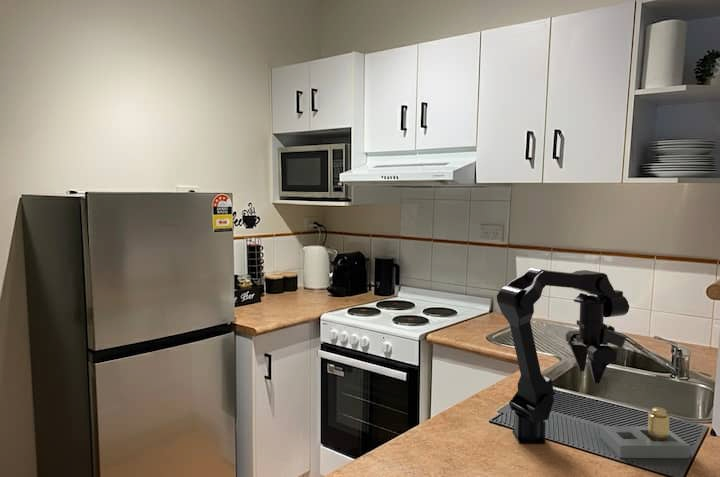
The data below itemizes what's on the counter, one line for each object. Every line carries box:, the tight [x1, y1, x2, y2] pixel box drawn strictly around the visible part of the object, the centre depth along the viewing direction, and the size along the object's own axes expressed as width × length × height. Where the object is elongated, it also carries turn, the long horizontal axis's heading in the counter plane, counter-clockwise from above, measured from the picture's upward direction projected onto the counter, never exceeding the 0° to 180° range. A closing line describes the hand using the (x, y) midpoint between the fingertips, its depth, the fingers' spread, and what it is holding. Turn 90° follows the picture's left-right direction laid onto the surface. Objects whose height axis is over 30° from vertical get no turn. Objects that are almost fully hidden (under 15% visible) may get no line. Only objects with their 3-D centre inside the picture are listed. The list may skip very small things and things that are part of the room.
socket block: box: [599, 425, 691, 459], centre depth 123 cm, size 16×10×3 cm, turn 89°
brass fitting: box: [647, 406, 670, 442], centre depth 123 cm, size 4×4×10 cm
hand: (589, 376), depth 135 cm, fingers open, 9 cm apart
